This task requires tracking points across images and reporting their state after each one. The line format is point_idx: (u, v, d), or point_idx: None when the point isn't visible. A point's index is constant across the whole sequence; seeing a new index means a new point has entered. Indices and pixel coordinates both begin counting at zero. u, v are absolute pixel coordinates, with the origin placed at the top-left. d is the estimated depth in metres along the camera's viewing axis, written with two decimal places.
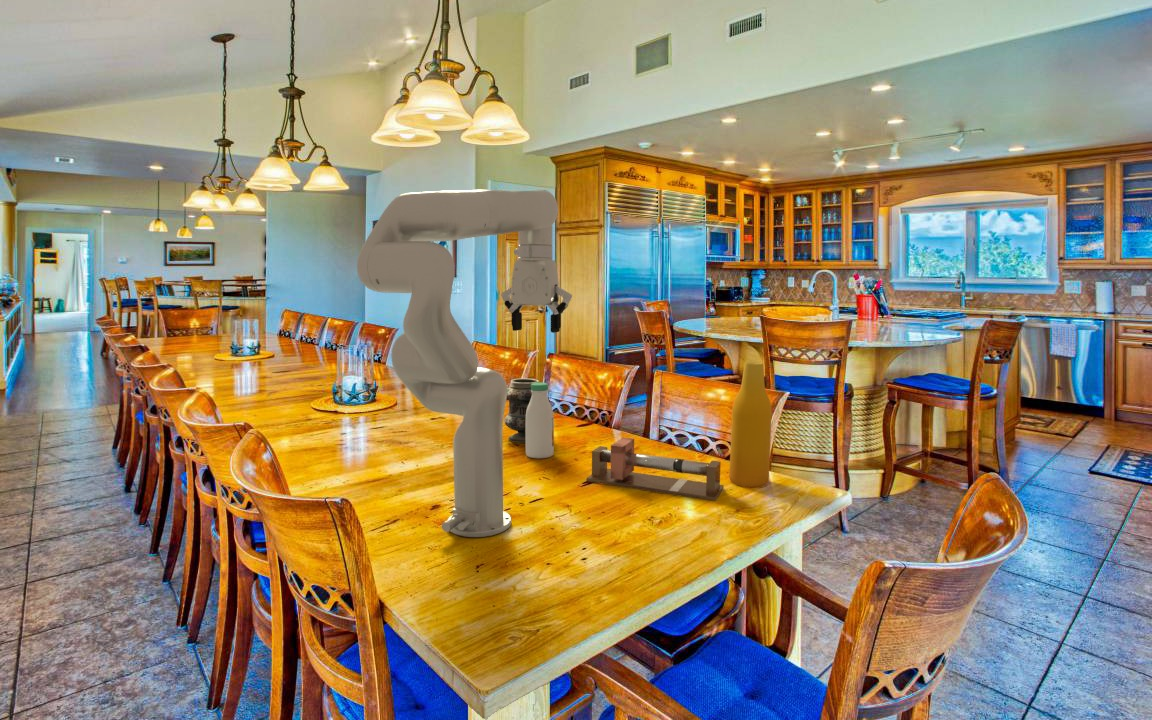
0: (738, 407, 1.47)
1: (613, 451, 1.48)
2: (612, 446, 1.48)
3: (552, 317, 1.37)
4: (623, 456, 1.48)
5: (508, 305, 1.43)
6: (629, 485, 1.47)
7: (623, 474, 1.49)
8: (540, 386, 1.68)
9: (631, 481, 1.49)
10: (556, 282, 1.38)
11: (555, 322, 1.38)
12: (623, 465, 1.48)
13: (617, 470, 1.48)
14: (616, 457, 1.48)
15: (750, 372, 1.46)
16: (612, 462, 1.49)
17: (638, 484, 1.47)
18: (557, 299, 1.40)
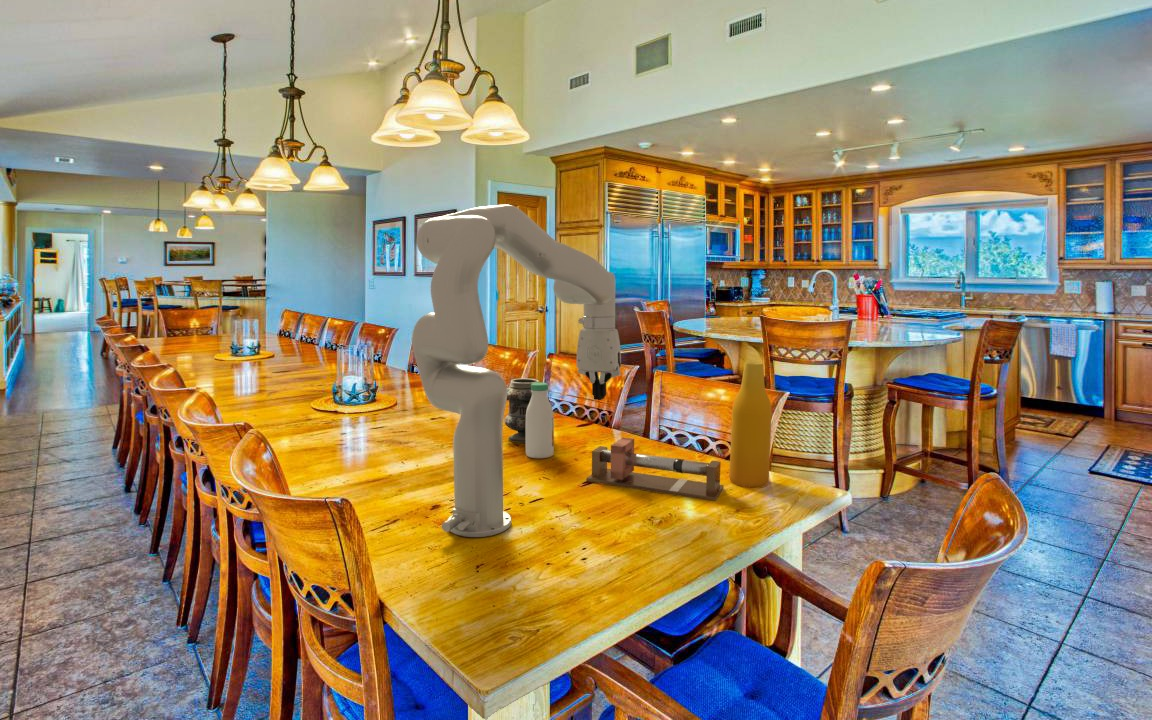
0: (738, 407, 1.47)
1: (613, 451, 1.48)
2: (612, 446, 1.48)
3: (599, 386, 1.51)
4: (623, 456, 1.48)
5: (589, 376, 1.52)
6: (629, 485, 1.47)
7: (623, 474, 1.49)
8: (540, 386, 1.68)
9: (631, 481, 1.49)
10: (619, 350, 1.49)
11: (601, 390, 1.51)
12: (623, 465, 1.48)
13: (617, 470, 1.48)
14: (616, 457, 1.48)
15: (750, 372, 1.46)
16: (612, 462, 1.49)
17: (638, 484, 1.47)
18: (619, 365, 1.51)
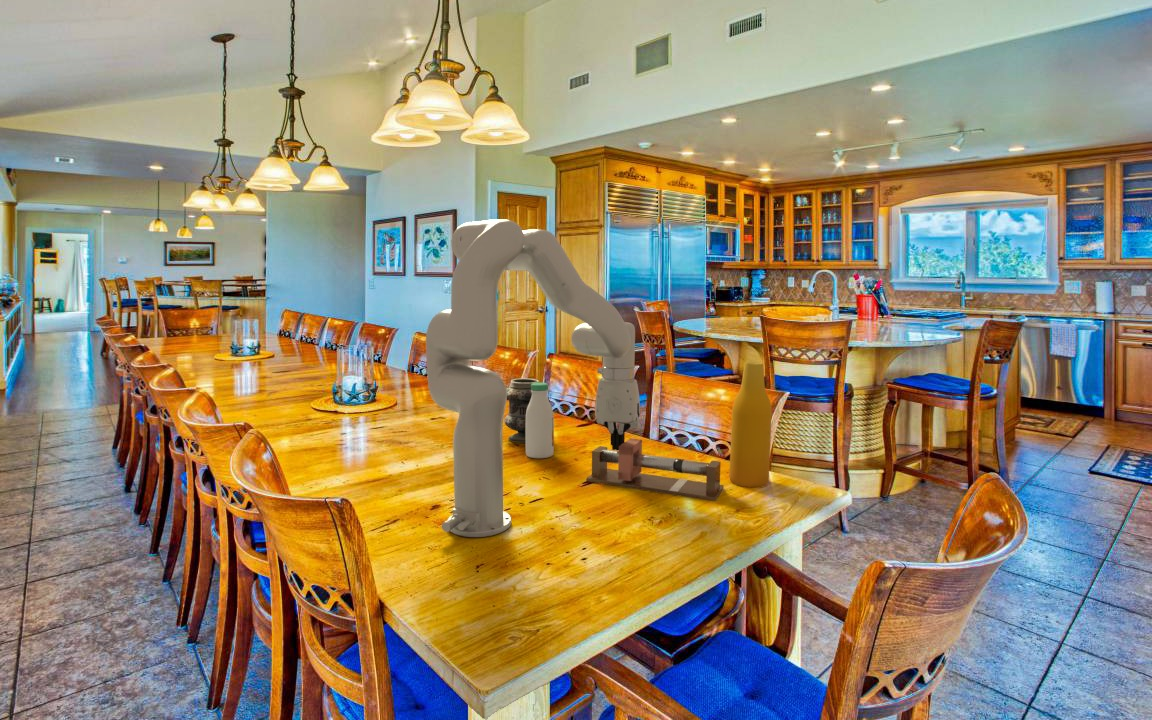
0: (738, 407, 1.47)
1: (621, 452, 1.47)
2: (620, 447, 1.47)
3: (617, 437, 1.50)
4: (631, 457, 1.47)
5: (607, 425, 1.51)
6: (629, 485, 1.47)
7: (631, 476, 1.48)
8: (540, 386, 1.68)
9: (631, 481, 1.49)
10: (638, 401, 1.49)
11: (620, 441, 1.51)
12: (631, 466, 1.47)
13: (625, 471, 1.48)
14: (624, 458, 1.47)
15: (750, 372, 1.46)
16: (620, 463, 1.48)
17: (638, 484, 1.47)
18: (638, 415, 1.51)
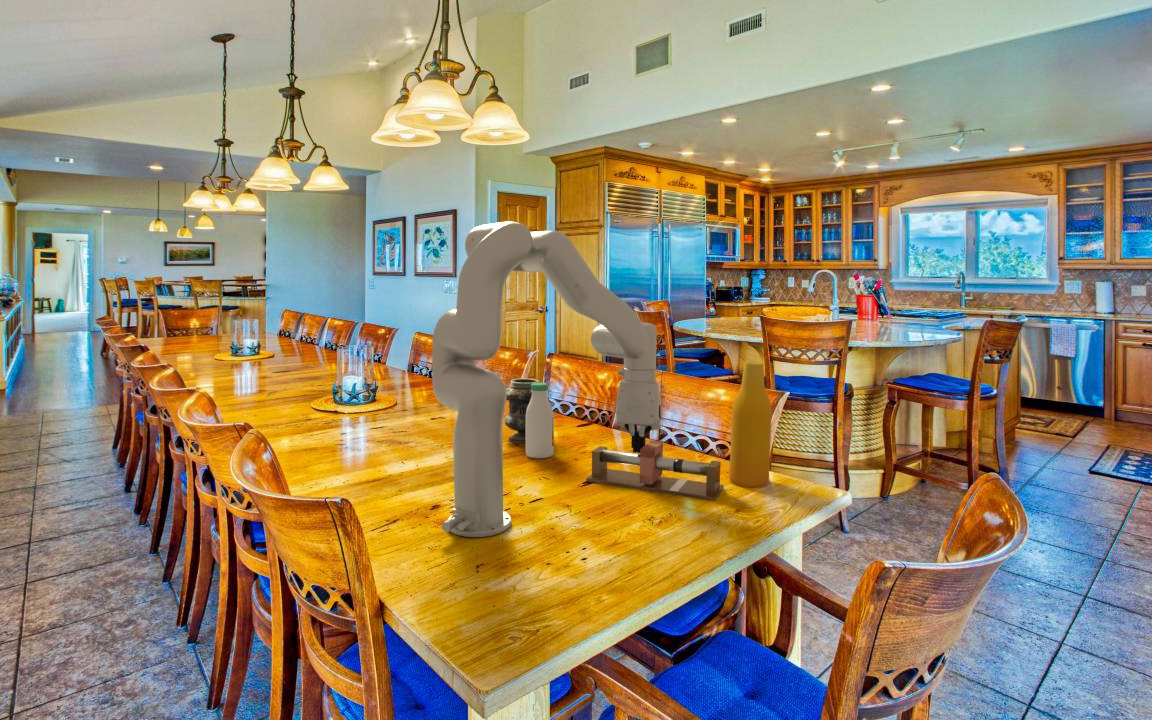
0: (738, 407, 1.47)
1: (642, 455, 1.45)
2: (641, 450, 1.45)
3: (638, 439, 1.48)
4: (653, 460, 1.45)
5: (628, 428, 1.49)
6: (629, 485, 1.47)
7: (653, 479, 1.46)
8: (540, 386, 1.68)
9: (631, 481, 1.49)
10: (660, 403, 1.46)
11: (641, 443, 1.48)
12: (653, 469, 1.45)
13: (646, 474, 1.45)
14: (645, 461, 1.45)
15: (750, 372, 1.46)
16: (641, 466, 1.46)
17: (638, 484, 1.47)
18: (659, 417, 1.48)
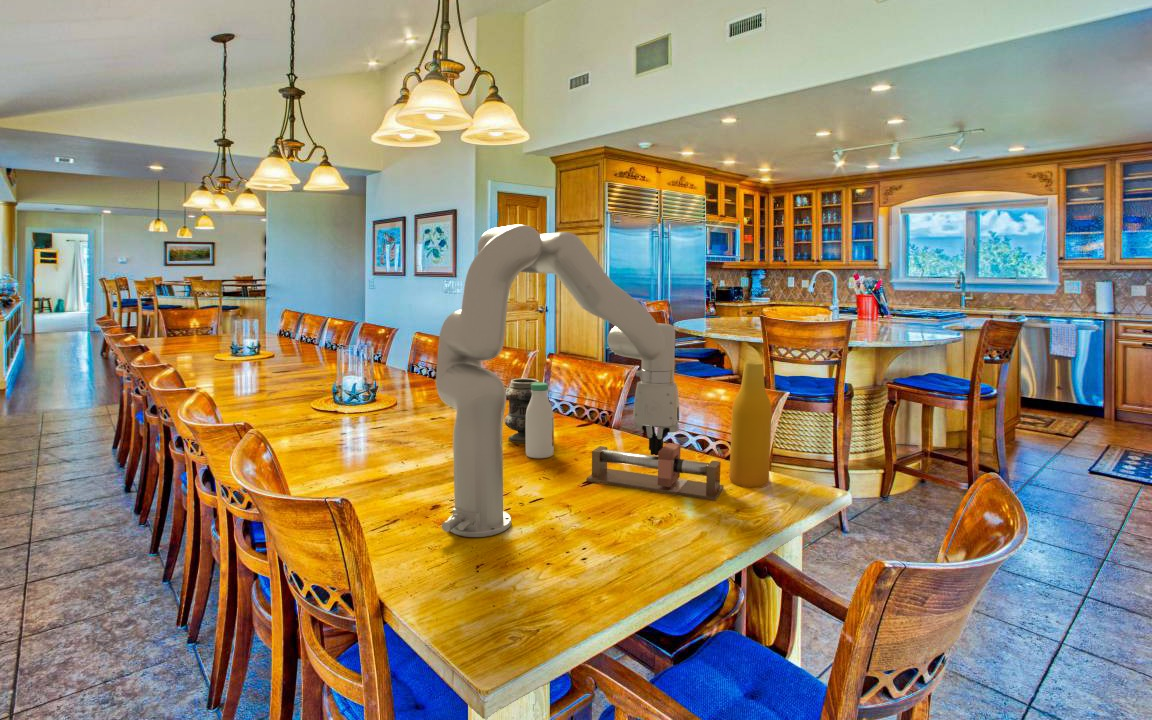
0: (738, 407, 1.47)
1: (660, 457, 1.43)
2: (659, 452, 1.43)
3: (656, 441, 1.46)
4: (671, 463, 1.43)
5: (646, 430, 1.47)
6: (629, 485, 1.47)
7: (671, 481, 1.44)
8: (540, 386, 1.68)
9: (631, 481, 1.49)
10: (678, 404, 1.45)
11: (658, 446, 1.47)
12: (671, 472, 1.43)
13: (665, 477, 1.44)
14: (664, 463, 1.43)
15: (750, 372, 1.46)
16: (659, 469, 1.44)
17: (638, 484, 1.47)
18: None
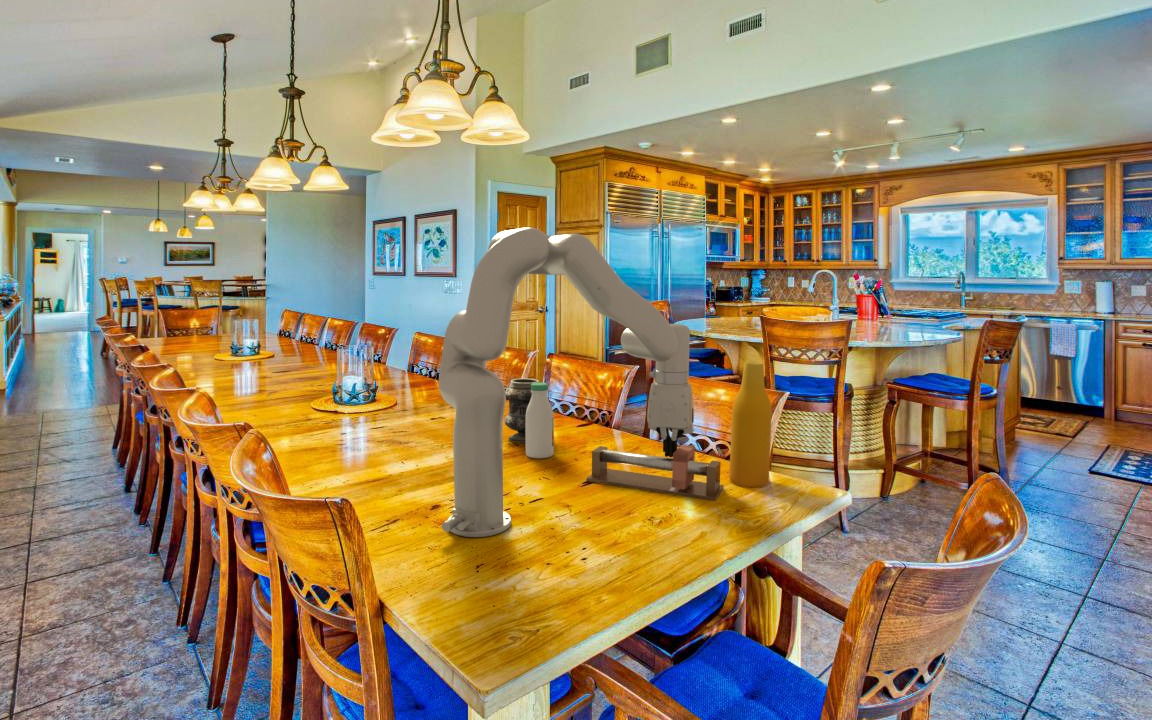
0: (738, 407, 1.47)
1: (675, 459, 1.42)
2: (674, 454, 1.42)
3: (670, 443, 1.45)
4: (686, 465, 1.42)
5: (660, 431, 1.46)
6: (629, 485, 1.47)
7: (685, 484, 1.42)
8: (540, 386, 1.68)
9: (631, 481, 1.49)
10: (692, 406, 1.43)
11: (673, 447, 1.45)
12: (686, 474, 1.42)
13: (679, 479, 1.42)
14: (678, 465, 1.42)
15: (750, 372, 1.46)
16: (674, 471, 1.42)
17: (638, 484, 1.47)
18: (692, 421, 1.45)
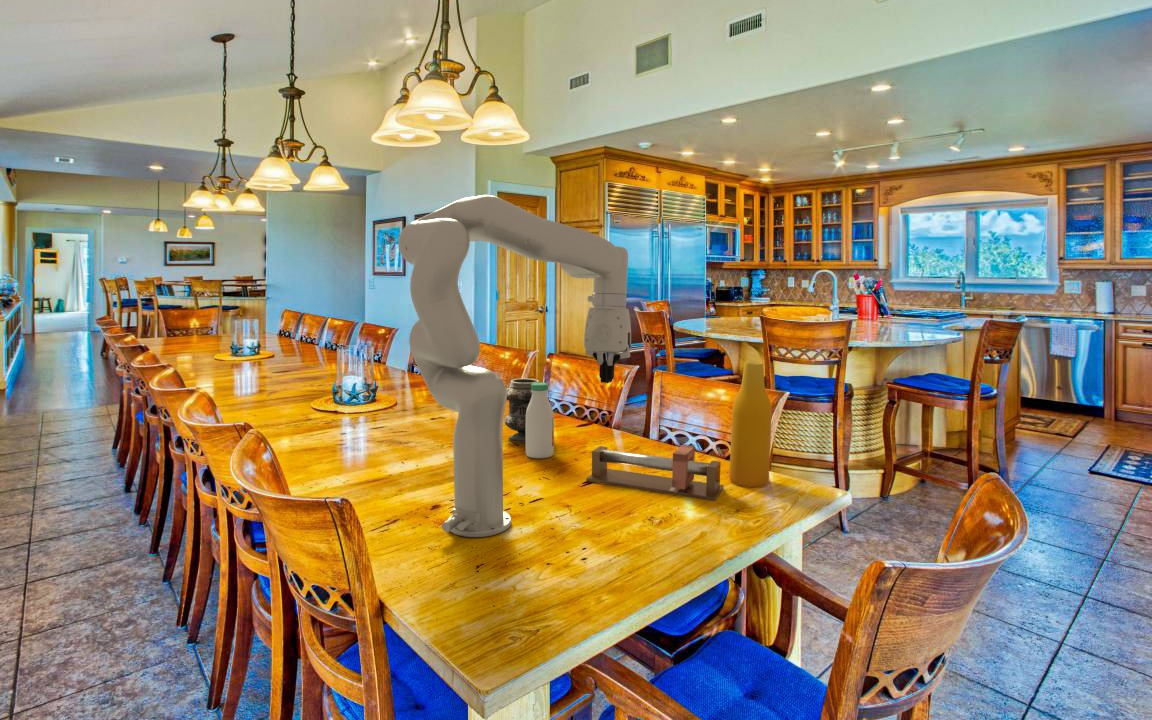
0: (738, 407, 1.47)
1: (675, 459, 1.42)
2: (674, 454, 1.42)
3: (606, 368, 1.42)
4: (686, 465, 1.42)
5: (597, 357, 1.44)
6: (629, 485, 1.47)
7: (685, 484, 1.42)
8: (540, 386, 1.68)
9: (631, 481, 1.49)
10: (629, 330, 1.41)
11: (609, 373, 1.43)
12: (686, 474, 1.42)
13: (679, 479, 1.42)
14: (678, 465, 1.42)
15: (750, 372, 1.46)
16: (674, 471, 1.42)
17: (638, 484, 1.47)
18: (629, 346, 1.43)
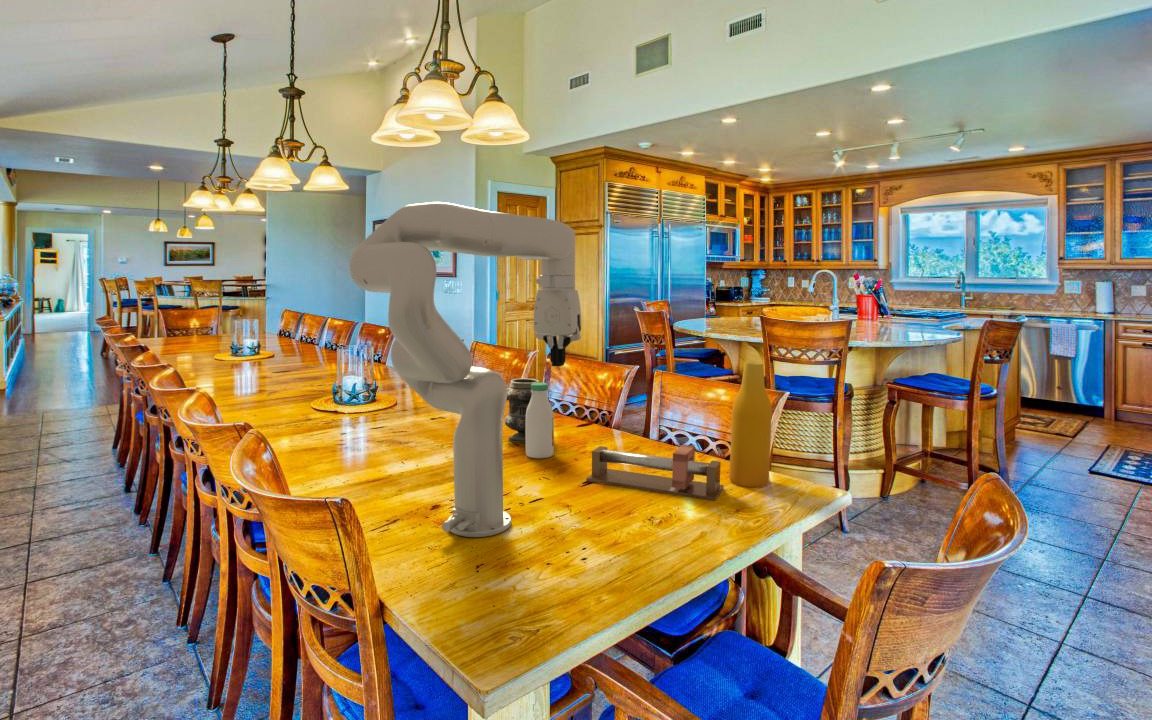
0: (738, 407, 1.47)
1: (675, 459, 1.42)
2: (674, 454, 1.42)
3: (557, 351, 1.39)
4: (686, 465, 1.42)
5: (547, 340, 1.41)
6: (629, 485, 1.47)
7: (685, 484, 1.42)
8: (540, 386, 1.68)
9: (631, 481, 1.49)
10: (579, 312, 1.38)
11: (560, 356, 1.40)
12: (686, 474, 1.42)
13: (679, 479, 1.42)
14: (678, 465, 1.42)
15: (750, 372, 1.46)
16: (674, 471, 1.42)
17: (638, 484, 1.47)
18: (579, 328, 1.40)
